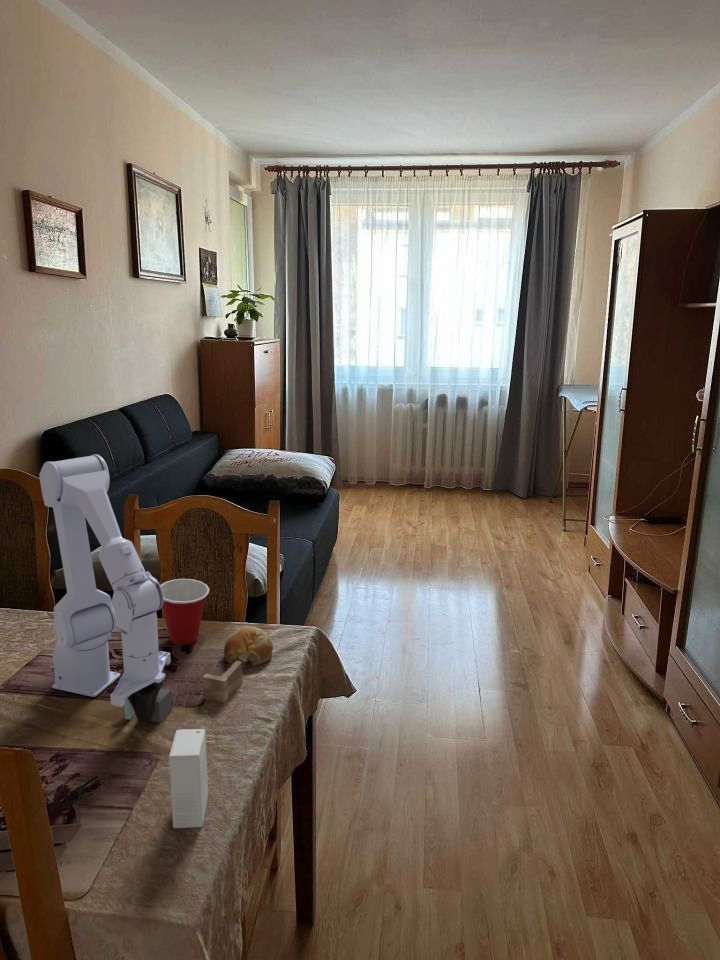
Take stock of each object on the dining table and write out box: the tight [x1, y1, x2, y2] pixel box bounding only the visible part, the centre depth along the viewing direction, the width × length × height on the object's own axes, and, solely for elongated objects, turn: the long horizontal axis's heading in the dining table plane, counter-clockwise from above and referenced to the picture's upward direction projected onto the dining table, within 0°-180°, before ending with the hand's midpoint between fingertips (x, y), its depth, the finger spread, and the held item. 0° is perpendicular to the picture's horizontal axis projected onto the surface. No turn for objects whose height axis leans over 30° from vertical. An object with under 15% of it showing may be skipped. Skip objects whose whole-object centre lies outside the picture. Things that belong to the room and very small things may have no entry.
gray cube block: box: [149, 687, 173, 724], centre depth 118 cm, size 4×4×4 cm
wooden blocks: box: [202, 661, 243, 704], centre depth 128 cm, size 20×7×4 cm, turn 74°
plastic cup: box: [160, 578, 210, 646], centre depth 144 cm, size 11×11×12 cm
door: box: [123, 699, 135, 720], centre depth 122 cm, size 12×2×4 cm, turn 177°
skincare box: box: [168, 728, 209, 829], centre depth 95 cm, size 6×4×12 cm
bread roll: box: [223, 625, 274, 669], centre depth 139 cm, size 10×10×8 cm
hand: (144, 719), depth 116 cm, fingers closed
